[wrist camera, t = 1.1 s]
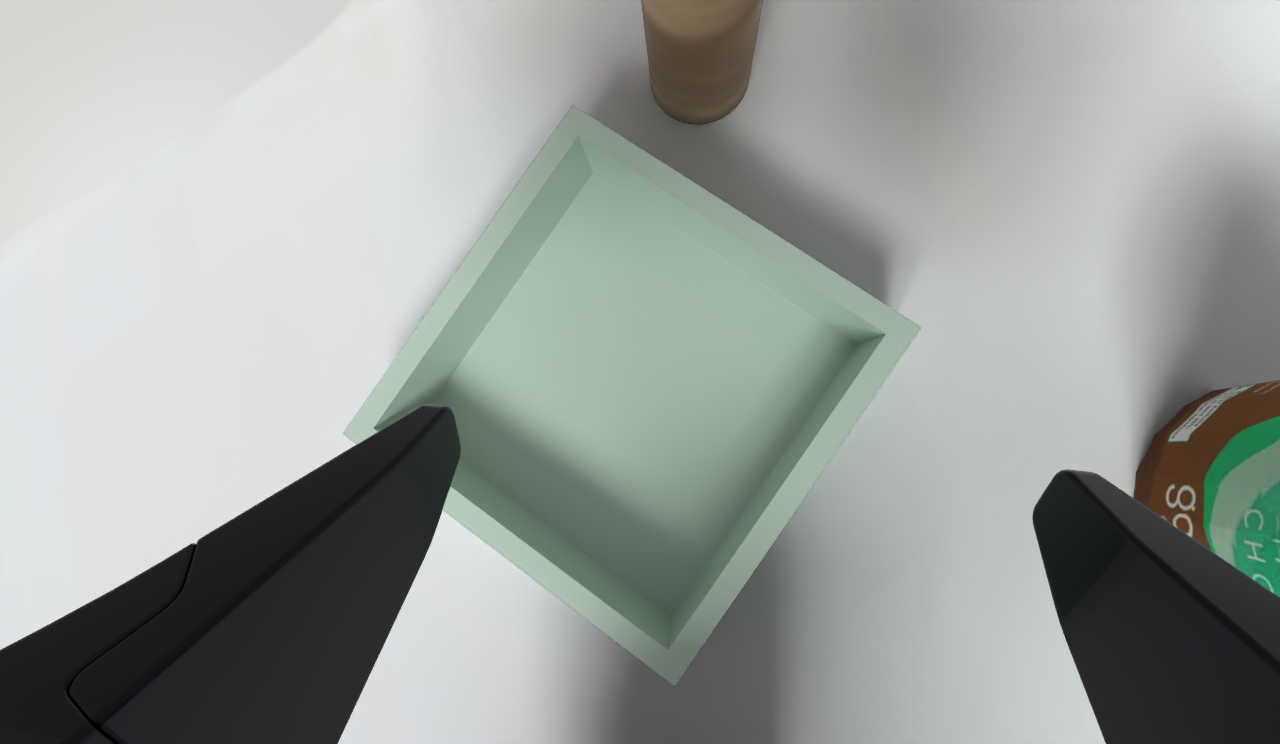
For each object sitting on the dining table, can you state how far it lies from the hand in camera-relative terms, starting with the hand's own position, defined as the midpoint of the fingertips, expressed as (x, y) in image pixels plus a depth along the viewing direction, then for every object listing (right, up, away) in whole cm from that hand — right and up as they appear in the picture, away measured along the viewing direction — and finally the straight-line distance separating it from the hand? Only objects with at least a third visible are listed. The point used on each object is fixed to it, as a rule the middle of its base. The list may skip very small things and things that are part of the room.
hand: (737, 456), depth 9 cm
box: (-2, +1, +14) cm, 14 cm away
